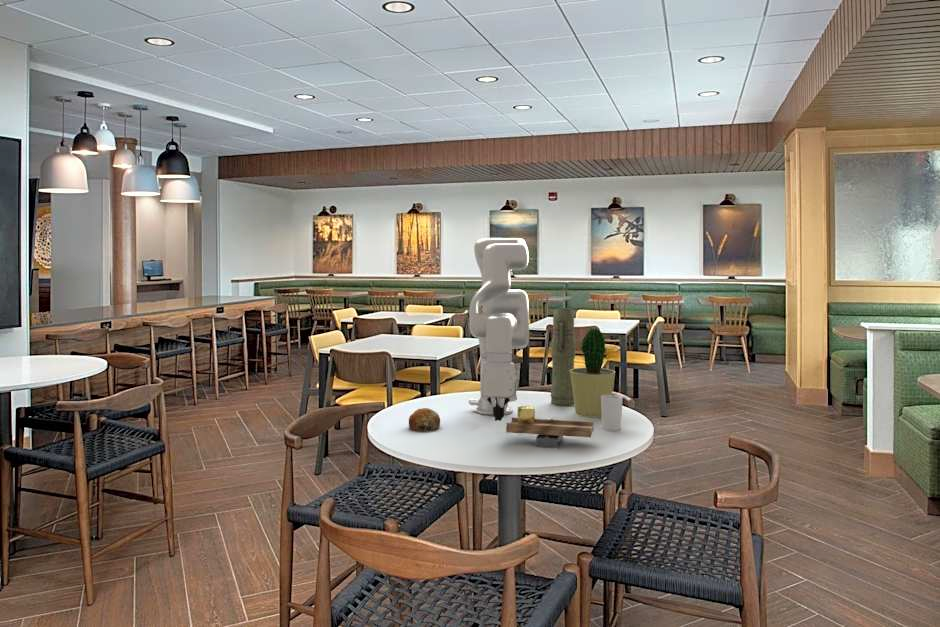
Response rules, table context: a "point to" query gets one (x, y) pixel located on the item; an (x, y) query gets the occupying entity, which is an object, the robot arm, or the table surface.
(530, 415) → the rider
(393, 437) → the table surface
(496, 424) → the table surface
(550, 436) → the fulcrum
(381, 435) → the table surface
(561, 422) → the beam
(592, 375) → the potted cactus
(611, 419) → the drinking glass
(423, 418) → the bread roll
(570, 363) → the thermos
